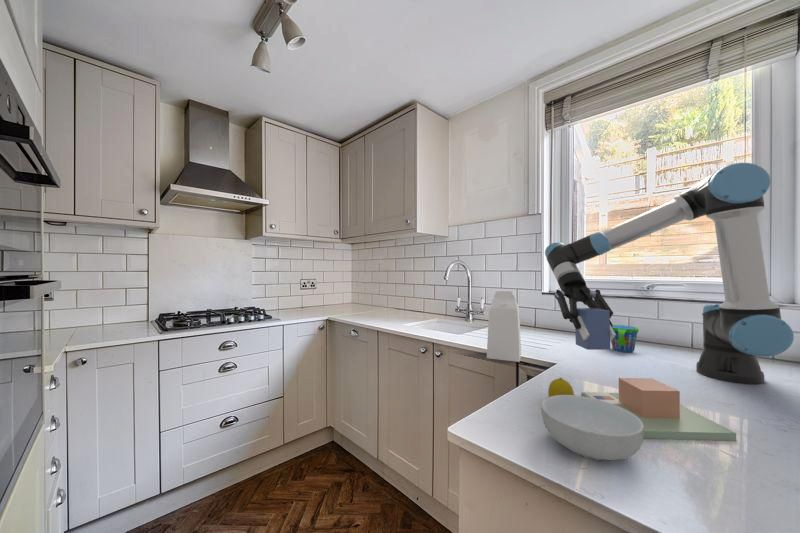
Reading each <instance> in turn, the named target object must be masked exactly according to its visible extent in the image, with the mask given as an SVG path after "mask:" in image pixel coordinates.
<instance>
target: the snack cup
mask: <svg viewBox="0 0 800 533" xmlns="http://www.w3.org/2000/svg"><path fill="white" fill-rule="evenodd" d="M612 329H613V331H614V332H615V334H616V335H615V337H614V338H613V339H612V340H610V344H611V347H612V350H614V351H616V350H617V352H620V351H621V353H634V351H635V350H636V349H635V348H636V342H637V337H638V333H639V328H638V327H637V326H631V325H621V324H613V326H612Z"/></svg>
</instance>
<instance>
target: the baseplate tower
mask: <svg viewBox="0 0 800 533" xmlns="http://www.w3.org/2000/svg"><path fill="white" fill-rule="evenodd" d="M580 394H581V395H580V396H583V397H589V398H594V399H598V400H601V401H605V402H608V403H611V404H614V405H616V406H619V407H621V408H623V409H625V410H627V411H629V412H631V413H632V414H634V415H635V416H637V417H638V418H639V419H640V420H641V421H642V423H643V426H644V435H643V439H656V440H657V439H659V440H696V441H698V440H699V441H701V440H702V441H703V440H704V441H733V442H734V441H737V432H735V431H733V430H731V429H729V428H727V427H726V426H723V425H721V424H719V423H718V422H715V421H713V420H712V419H710V418H708V417H705V416H703V415H701V414H699V413H697V412H696V411H693V410H691V409H689V408H688V407H685V406H684V405H682V404H681V403H680V402H681V401H680V398H681V397H680V395H681V394H680V390H679V389H678V390H677V389H676V388H674V387H672V386H670V385H667V384H665V383H663V382H661V381H659V380H657V379H655V378H653V377H651V378H648V377H647V378H646V377H645V378H644V377H641V378H639V377H638V378H637V377H619V378H618V392H589V391H585V392H584V391H582V392H580Z"/></svg>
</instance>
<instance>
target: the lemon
mask: <svg viewBox="0 0 800 533" xmlns="http://www.w3.org/2000/svg"><path fill="white" fill-rule="evenodd" d="M556 395H575V392H574V390H573V387H572V385H571V384H570V382H568V381H567V380H565V379H564V378H563V377H558V378H555V379H553V380H552V381H551V382H550V383H549V385H548V397H551V396H556Z"/></svg>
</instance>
